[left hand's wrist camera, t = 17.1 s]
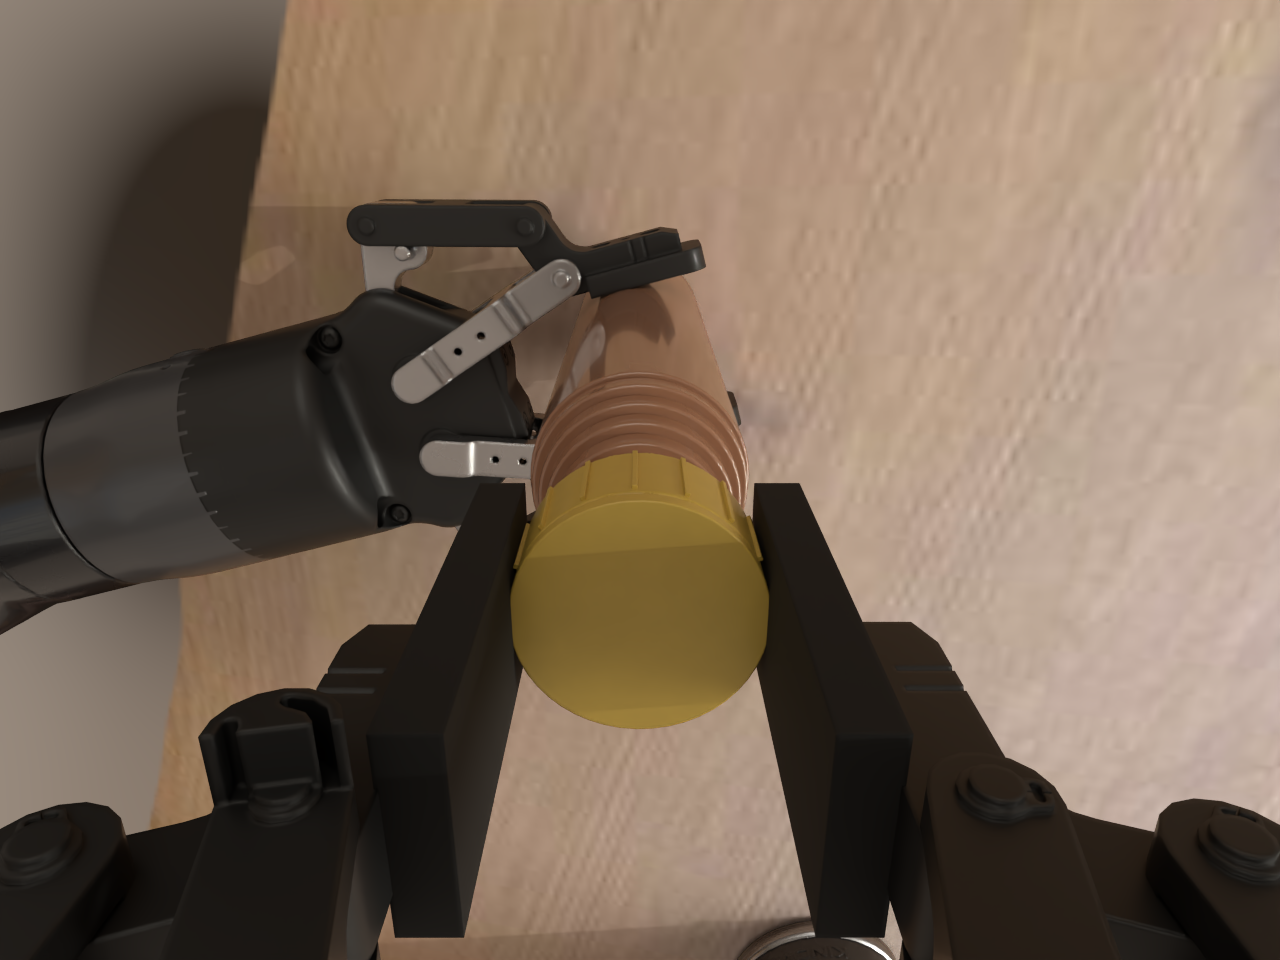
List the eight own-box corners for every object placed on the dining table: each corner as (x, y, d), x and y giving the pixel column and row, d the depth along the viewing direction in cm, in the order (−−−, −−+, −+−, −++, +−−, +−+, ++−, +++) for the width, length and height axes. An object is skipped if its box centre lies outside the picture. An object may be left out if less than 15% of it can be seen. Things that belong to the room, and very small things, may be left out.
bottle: (719, 292, 34) (847, 549, 13) (662, 392, 36) (694, 765, 15) (615, 234, 33) (574, 409, 12) (561, 339, 35) (442, 653, 14)
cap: (481, 592, 15) (458, 659, 13) (598, 404, 14) (592, 448, 12) (675, 693, 16) (680, 769, 14) (802, 524, 15) (827, 582, 13)
